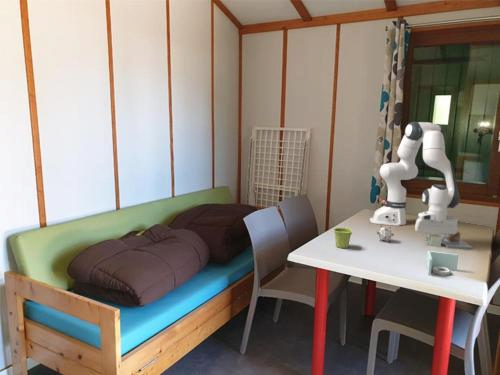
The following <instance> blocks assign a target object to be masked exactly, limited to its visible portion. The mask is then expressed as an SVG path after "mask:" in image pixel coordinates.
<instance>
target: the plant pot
mask: <svg viewBox="0 0 500 375" xmlns="http://www.w3.org/2000/svg"><path fill="white" fill-rule="evenodd" d="M333 232H334V238H335V246H336V248H339V249H342V248H343V249H348V248H349V244H350V239H351V236H352V233H353V230H352V229H349V228H345V227H336V228H335V227H334V228H333Z"/></svg>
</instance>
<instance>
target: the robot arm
mask: <svg viewBox="0 0 500 375" xmlns="http://www.w3.org/2000/svg"><path fill="white" fill-rule="evenodd" d="M445 135H446V130H445V127H444V126H443V125H442V124H439V123H434V122H429V121H428V122H427V121H426V122H425V121H419V122H418V121H412V122H409V123H408V124H407V125H406V127H405V128H404V135H403V136H402V139H401V142H400V144H399V146H398V148H397V151H396V152H397V153H396V154H397V157H399V160H400V161H399V162H388V163H384V164H382V165H381V166H380V169H379V175H380V177H381V178H382V179H383V180H384V182H385V184H386V186H387V199H386V200H385V199H383V200H382V201H381V203H383V206H381V207H379V208H377V209H376V210H375V211H374V214H373V216H372V217H370V218H369V222H371V223H372V224H375V225H376V224H377V225H386V226H394V227H395V226H397V227H400V226H403V225H406V224H407V220H406V209H407V201H406V200H407V188H405V187H404V186H402V183H401V181H402V180H406V181H408V180H411V179H415V178H416V177H418V176H417V175H418V174H419V168H418V166H417V165H416V157H417V155H418V152H419V149H420V148H421V145H422V159H423V162H424V163H425V164H426V165H427V166H429V167H431V168H433V169H436V170H438V171H440V172H441V173H442V174H443V176H444V178H445V183H446V185H444V184H435V183H434V184H433V185H431V188H426V189H424V190H423V191H422V195H421V202H422V204H424V205H425V206H427V207H428V210H426V211H423V212H419V213H418V216H417V217H418V218H416V221H415V225H414V230H415V232H416V233H422V236H423V237H424V241H425V242H428V237H427V234H436V235H443V236H444V237H443V238H441V239H442V240H441V242H445V239H446V238H447V237H448V234H456V233H457V231H458V223H459V219H458V218H457V217H456V216H448V209H454V208H456V207H457V206H458V205H460V203H461V202H460V200H461V196H460V192H459V189H458V186H457V180H456V175H455V168H454V167H453V163H452V161H451V160H450V159H448V156H447V155H446V146H445Z"/></svg>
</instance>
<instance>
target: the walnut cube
mask: <svg viewBox="0 0 500 375" xmlns="http://www.w3.org/2000/svg"><path fill="white" fill-rule="evenodd" d="M446 239H447V240H448V241H449V242H460V239H461V232H460V231H458V230H457V233H456V234H448V237H447V238H446Z"/></svg>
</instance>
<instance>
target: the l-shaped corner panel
mask: <svg viewBox="0 0 500 375" xmlns="http://www.w3.org/2000/svg"><path fill="white" fill-rule="evenodd" d="M426 256H427V257H426V271H428V272H427V275H428V276H430V277H431V276H432V273H433V274H436V275H439V276H444V277H446V276H450V275H451V271H454V272H455V271H457V270H458V264H459V262H458V261H459V254H458V253H449V252H442V251H434V250H433V251H432V250H427V254H426Z"/></svg>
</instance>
